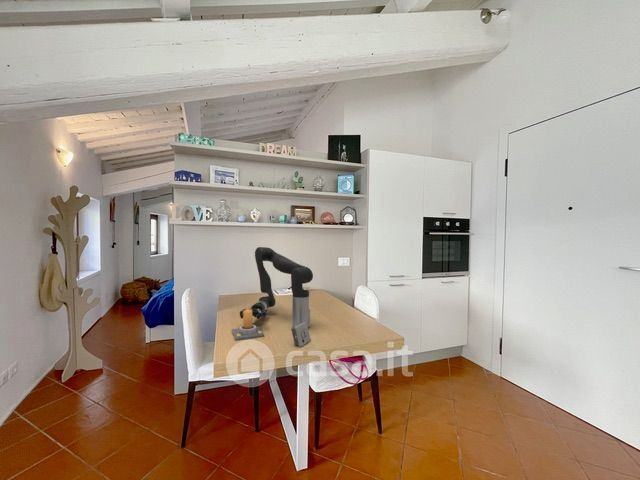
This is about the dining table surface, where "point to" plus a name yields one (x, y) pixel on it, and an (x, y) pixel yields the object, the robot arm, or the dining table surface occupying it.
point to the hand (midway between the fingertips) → (249, 317)
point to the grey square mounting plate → (247, 333)
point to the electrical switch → (301, 334)
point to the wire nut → (247, 319)
